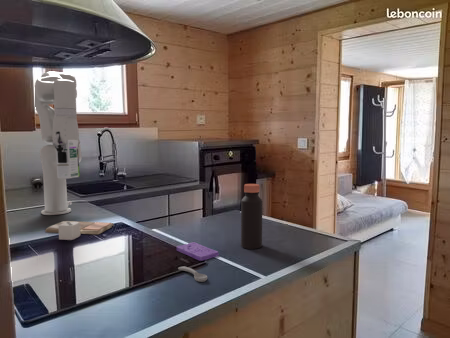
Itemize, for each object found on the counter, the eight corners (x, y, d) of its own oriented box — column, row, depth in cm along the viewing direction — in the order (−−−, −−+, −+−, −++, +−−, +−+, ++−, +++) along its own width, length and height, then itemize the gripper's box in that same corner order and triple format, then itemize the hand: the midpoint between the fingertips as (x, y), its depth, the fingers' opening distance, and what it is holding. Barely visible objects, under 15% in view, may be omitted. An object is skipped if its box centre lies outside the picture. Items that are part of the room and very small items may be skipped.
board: (64, 224, 143) (64, 220, 143) (113, 226, 140) (113, 222, 140) (45, 232, 131) (45, 228, 131) (98, 234, 128) (98, 230, 128)
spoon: (200, 284, 85) (199, 276, 85) (176, 273, 95) (175, 265, 95) (210, 281, 87) (210, 273, 87) (185, 270, 96) (185, 263, 96)
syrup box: (70, 178, 131) (68, 139, 129) (56, 178, 132) (54, 139, 131) (80, 177, 136) (78, 139, 135) (66, 176, 138) (64, 139, 136)
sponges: (194, 247, 115) (194, 241, 115) (219, 257, 105) (219, 251, 105) (175, 252, 110) (175, 246, 110) (200, 262, 101) (200, 256, 101)
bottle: (256, 250, 109) (256, 186, 108) (237, 247, 113) (237, 185, 111) (265, 245, 115) (266, 184, 113) (247, 241, 119) (247, 182, 117)
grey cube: (67, 235, 127) (66, 221, 127) (80, 236, 127) (79, 222, 126) (59, 239, 122) (58, 225, 122) (72, 240, 122) (71, 225, 121)
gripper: (70, 115, 141) (72, 160, 143) (40, 112, 124) (43, 163, 126) (87, 115, 140) (89, 160, 141) (60, 112, 123) (62, 163, 125)
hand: (67, 161), depth 134 cm, fingers closed on syrup box, 5 cm apart
